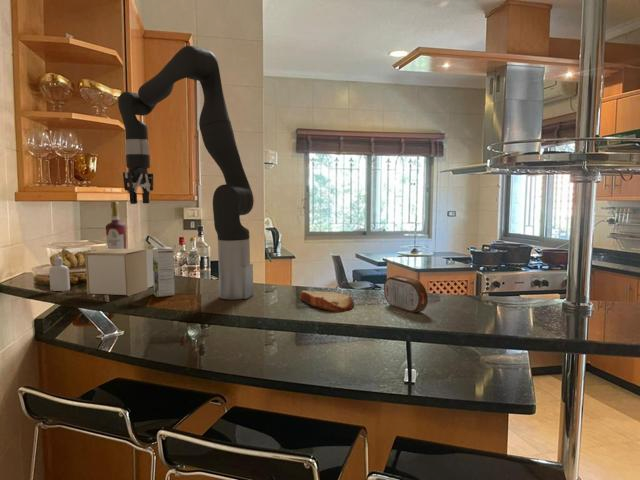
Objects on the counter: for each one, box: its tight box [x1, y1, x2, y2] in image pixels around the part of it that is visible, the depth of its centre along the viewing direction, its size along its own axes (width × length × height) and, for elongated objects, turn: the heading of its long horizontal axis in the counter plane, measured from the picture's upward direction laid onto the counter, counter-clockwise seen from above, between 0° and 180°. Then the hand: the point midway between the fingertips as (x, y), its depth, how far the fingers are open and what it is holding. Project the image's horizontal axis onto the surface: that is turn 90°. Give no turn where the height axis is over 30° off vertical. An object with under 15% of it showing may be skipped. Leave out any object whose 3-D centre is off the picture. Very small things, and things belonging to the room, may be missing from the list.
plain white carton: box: [87, 248, 154, 296], centre depth 155 cm, size 13×17×12 cm
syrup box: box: [152, 246, 176, 298], centre depth 147 cm, size 6×6×14 cm
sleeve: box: [84, 248, 149, 297], centre depth 152 cm, size 15×10×13 cm
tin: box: [383, 274, 429, 314], centre depth 125 cm, size 15×3×8 cm, turn 30°
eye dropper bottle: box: [48, 253, 71, 292], centre depth 155 cm, size 4×6×12 cm
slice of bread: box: [299, 290, 355, 313], centre depth 133 cm, size 18×18×4 cm
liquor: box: [105, 201, 127, 249], centre depth 185 cm, size 7×7×28 cm
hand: (140, 203), depth 163 cm, fingers open, 6 cm apart
